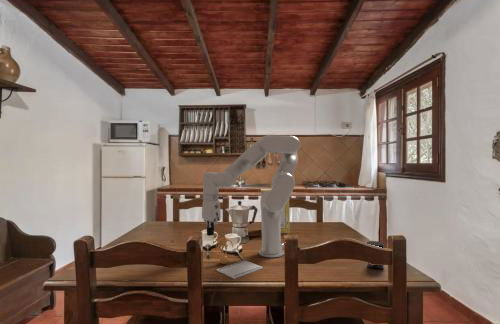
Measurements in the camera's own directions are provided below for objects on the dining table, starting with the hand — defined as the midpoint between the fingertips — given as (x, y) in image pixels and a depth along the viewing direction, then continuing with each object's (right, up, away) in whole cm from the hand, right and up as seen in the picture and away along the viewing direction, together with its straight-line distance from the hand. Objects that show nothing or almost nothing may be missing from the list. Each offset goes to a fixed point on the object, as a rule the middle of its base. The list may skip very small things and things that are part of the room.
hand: (210, 235), depth 137 cm
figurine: (+8, -11, -7) cm, 15 cm away
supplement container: (+74, -10, -15) cm, 76 cm away
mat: (+15, -11, -15) cm, 24 cm away
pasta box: (+36, -11, +51) cm, 63 cm away
